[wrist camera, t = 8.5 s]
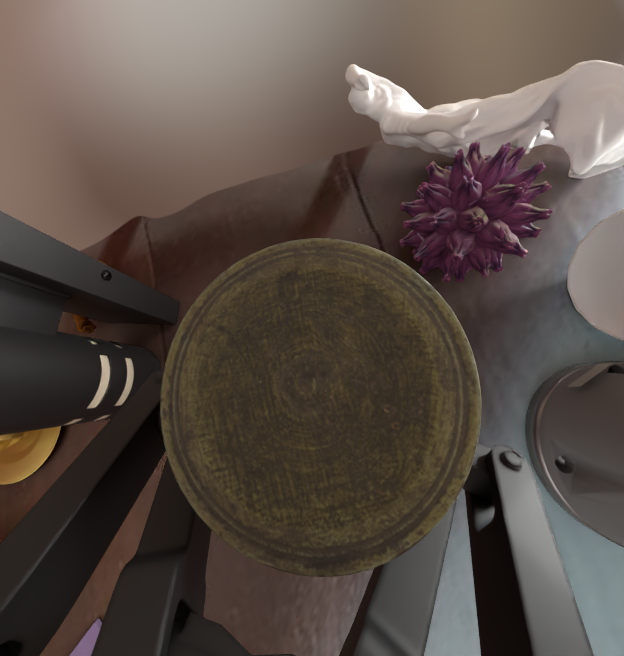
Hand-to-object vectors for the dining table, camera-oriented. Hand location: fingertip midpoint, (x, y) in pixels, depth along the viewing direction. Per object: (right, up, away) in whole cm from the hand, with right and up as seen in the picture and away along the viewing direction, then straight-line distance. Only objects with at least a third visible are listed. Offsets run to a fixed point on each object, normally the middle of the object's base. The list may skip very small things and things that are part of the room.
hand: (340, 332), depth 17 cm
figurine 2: (+31, +18, +5) cm, 36 cm away
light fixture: (-23, -3, +13) cm, 27 cm away
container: (0, -5, +7) cm, 8 cm away
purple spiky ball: (+13, +9, +12) cm, 20 cm away
